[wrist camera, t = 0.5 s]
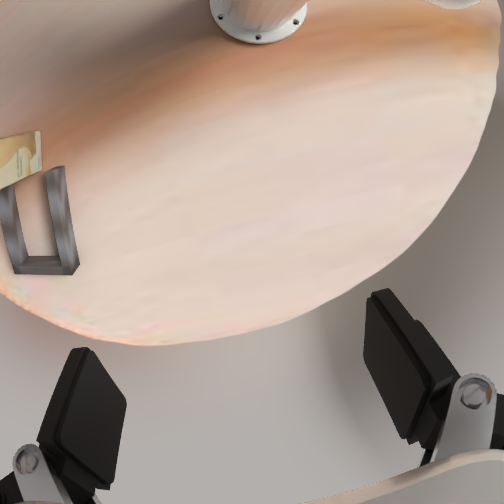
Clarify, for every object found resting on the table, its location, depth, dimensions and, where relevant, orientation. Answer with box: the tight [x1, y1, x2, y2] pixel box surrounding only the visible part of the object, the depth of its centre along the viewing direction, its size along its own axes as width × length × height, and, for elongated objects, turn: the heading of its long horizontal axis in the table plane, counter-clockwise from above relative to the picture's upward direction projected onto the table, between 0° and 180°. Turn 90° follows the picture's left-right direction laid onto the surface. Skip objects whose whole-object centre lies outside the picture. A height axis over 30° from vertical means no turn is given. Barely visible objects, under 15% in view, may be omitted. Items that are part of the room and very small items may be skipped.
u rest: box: [0, 166, 80, 275], centre depth 39 cm, size 16×12×4 cm
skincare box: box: [0, 131, 42, 190], centre depth 31 cm, size 6×4×12 cm
